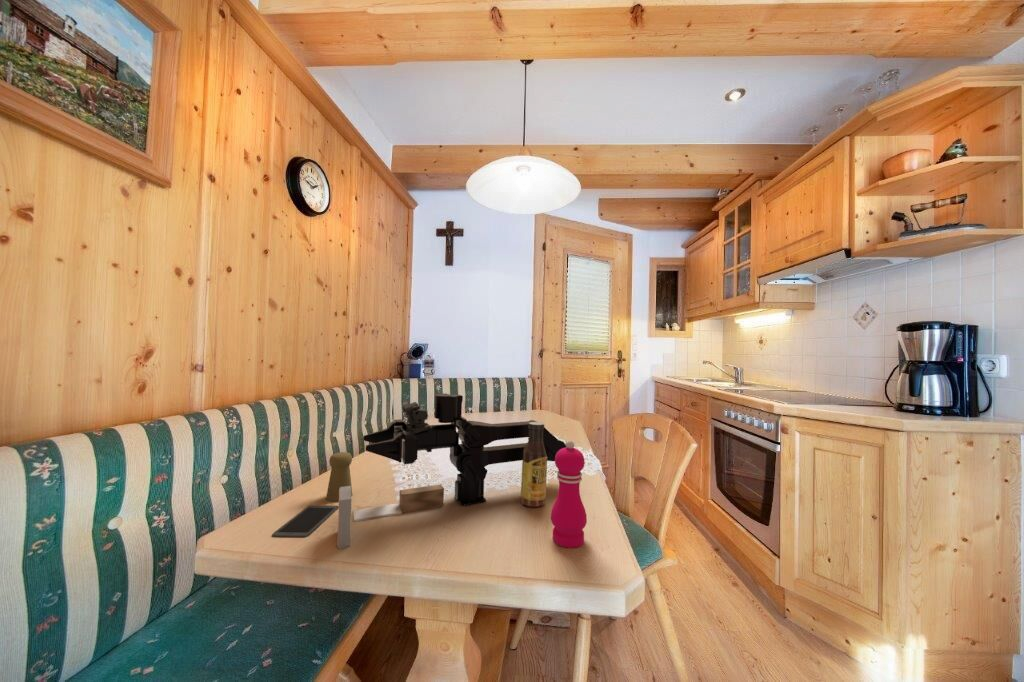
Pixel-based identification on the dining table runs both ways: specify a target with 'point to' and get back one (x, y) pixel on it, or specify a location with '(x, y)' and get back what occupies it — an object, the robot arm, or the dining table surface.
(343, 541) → the tile
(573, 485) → the pepper mill
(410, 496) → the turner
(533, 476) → the sauce bottle
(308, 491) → the dining table surface
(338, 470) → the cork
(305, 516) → the cell phone
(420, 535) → the dining table surface
